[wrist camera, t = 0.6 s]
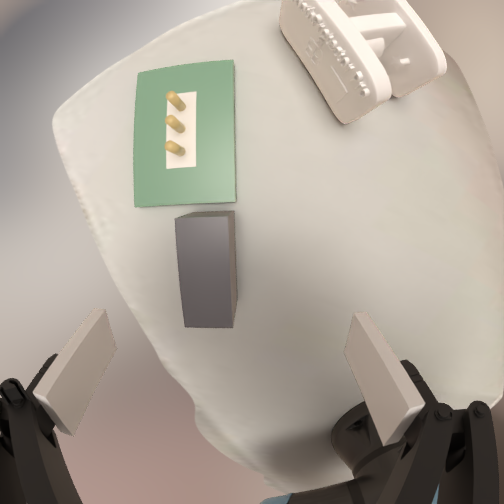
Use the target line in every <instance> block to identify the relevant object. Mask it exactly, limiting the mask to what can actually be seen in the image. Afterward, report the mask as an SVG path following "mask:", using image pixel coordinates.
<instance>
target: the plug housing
mask: <svg viewBox="0 0 504 504" xmlns="http://www.w3.org/2000/svg"><path fill="white" fill-rule="evenodd" d="M175 232H176V246H177V259H178V271H179V281H180V291H181V300H182V309H183V317H184V324H185V327H193V328H233V324H234V318H235V311H236V305H237V278H236V251H235V219H234V211H215V212H193V213H190V214H187V215H184V216H181V217H178V218H175Z"/></svg>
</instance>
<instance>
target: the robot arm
mask: <svg viewBox="0 0 504 504" xmlns="http://www.w3.org/2000/svg"><path fill="white" fill-rule="evenodd" d="M116 350H117V347H116V344H115V340H114V337H113V334H112V331H111V327H110V324H109V320H108V316H107V313H106V310H105V309H97V308H94V309H93V310H92V312H91V313H90V314H89V315H88V317H87V318H86V319H85V320H84V322H83V323H82V324H81V325H80V327H79V328H78V329H77V331H76V332H75V333H74V334H73V336H72V337H71V338H70V340H69V341H68V342H67V344H66V345H65V346H64V348H63V349H62V350H61V352H60V353H59V354H54V355H53V356H51V357H50V358H48V360H47V361H46V362H45V364H44V365H43V368H41V369H40V370H39V373H37V375H36V376H35V377H34V379H33V380H32V382H31V383H30V385H29V386H28V388H27V389H26V391H25V390H24V388H23V386H22V385H21V383H20V382H19V381H18V380H17V379H14V378H10V379H7V380H5V381H4V382H3V383H1V385H0V395H1V396H2V398H0V432H1V434H0V504H83V503H82V501H81V499H80V497H79V495H78V493H77V490H76V488H75V486H74V484H73V481H72V479H71V476H70V474H69V471H68V469H67V466H66V464H65V461H64V458H63V455H62V452H61V449H60V447H59V443H58V440H57V437H56V434H55V432H54V430H53V428H54V426H55V425H56V426H57V428H58V429H59V430H60V431H61V432H63V433H65V434H68V435H71V436H74V435H75V432H76V430H77V428H78V426H79V424H80V422H81V419H82V417H83V415H84V413H85V411H86V409H87V407H88V404H89V402H90V400H91V398H92V396H93V394H94V392H95V390H96V388H97V386H98V384H99V382H100V380H101V378H102V376H103V374H104V373H105V371H106V369H107V367H108V365H109V363H110V361H111V359H112V357H113V356H114V354H115V352H116ZM344 354H345V356H346V358H347V361H348V363H349V365H350V367H351V370H352V372H353V374H354V377H355V379H356V381H357V383H358V386H359V388H360V390H361V393H362V395H363V397H364V400H365V402H363V403H361V404H360V405H358V406H356V407H355V408H353V409H352V410H350V411H349V412H348V413H346V414H345V415H344V416H343V417H342V418H341V419H340V420H339V421H338V422H337V424H336V425H335V427H334V429H333V431H332V434H331V440H332V443H333V447H334V450H335V451H336V453H337V454H338V455H339V457H340V458H341V459H342V460H343V461H344V462H345V464H346V465H347V466H348V467H349V468H350V469H351V470H352V473H353V476H354V479H353V480H350V481H346V482H342V483H339V484H335V485H331V486H327V487H323V488H319V489H314V490H309V491H304V492H299V493H289V494H288V495H283V496H278V497H272V498H268V499H265V500H264V501H262V502H261V503H260V504H499V473H498V459H497V449H496V440H495V434H494V427H493V421H492V416H491V411H490V409H489V407H488V406H487V404H486V403H484V402H482V401H474V402H472V403H471V404H470V405H469V407H468V408H467V409H461V410H453V409H452V408H451V407H450V406H449V405H447V404H445V403H438V401H437V400H436V398H435V397H434V395H433V393H432V392H431V390H430V389H429V387H428V386H427V384H426V382H425V381H423V378H422V376H421V375H419V374H420V373H419V372H418V370H417V369H416V367H415V366H414V365H413V364H412V363H410V362H409V361H408V360H402V361H399V359H398V358H397V356H396V355H395V353H394V352H393V350H392V349H391V347H390V346H389V344H388V343H387V341H386V340H385V338H384V337H383V335H382V334H381V332H380V331H379V329H378V328H377V326H376V325H375V323H374V322H373V320H372V319H371V317H370V316H369V314H368V313H367V312H357V313H354V314H353V319H352V323H351V327H350V331H349V335H348V339H347V343H346V346H345V350H344Z"/></svg>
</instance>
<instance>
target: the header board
mask: <svg viewBox="0 0 504 504" xmlns="http://www.w3.org/2000/svg"><path fill="white" fill-rule="evenodd" d="M133 173H134V204H135V207H147V206H161V205H177V204H195V203H218V202H236V165H235V100H234V61H233V60H221V61H210V62H200V63H192V64H184V65H177V66H171V67H165V68H160V69H154V70H149V71H145V72H140V73H138V78H137V89H136V101H135V117H134V148H133Z"/></svg>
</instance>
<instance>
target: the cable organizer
mask: <svg viewBox="0 0 504 504" xmlns="http://www.w3.org/2000/svg"><path fill="white" fill-rule="evenodd" d="M279 24H280V28H281V30H282V32H283V34H284V36H285V38H286V39H287V41H288V42H289V43H290V45H291V46H292V48H293V49H294V50H295V52H296V53H297V55H298V56H299V58H300V59H301V61H302V62H303V64H304V65H305V67H306V68H307V70H308V71H309V73H310V75H311V76H312V78H313V79H314V81H315V83H316V84H317V86H318V88H319V89H320V91H321V93H322V94H323V96H324V98H325V99H326V101H327V103H328V105H329V106H330V108H331V110H332V112H333V113H334V115H335V116H336V117H337V118H338V120H339V121H340V122H342V123H343V124H348V123H350V122H353V121H356V120H358V119H360V118H361V117H363V116H364V115H366V114H367V113H369V112H370V111H372V110H373V109H375V108H377V107H378V106H380V105H381V104H383V103H384V102H386V101H387V100H389V99H390V97H391V94H392V95H393V96H395V97H402V96H405V95H408V94H410V93H412V92H413V91H415V90H417V89H419V88H420V87H422V86H424V85H426V84H428V83H430V82H431V81H433V80H435V79H437V78H439V77H441V76H443V75H444V74H445V72H446V69H447V64H446V59H445V56H444V53H443V51H442V49H441V48H440V46H439V45H438V43H437V42H436V40H435V39H434V37H433V36H432V35H431V33H430V31H429V30H428V29H427V27H426V26H425V24H424V23H423V22H422V20H421V19H420V18H419V16H418V15H417V14H416V12H415V11H414V10H413V9H412V8H411V6H410V5H409V4H408V3H407V1H406V0H340V2H339V4H337V3H336V2H335V1H334V0H282V4H281V11H280V17H279Z"/></svg>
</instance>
